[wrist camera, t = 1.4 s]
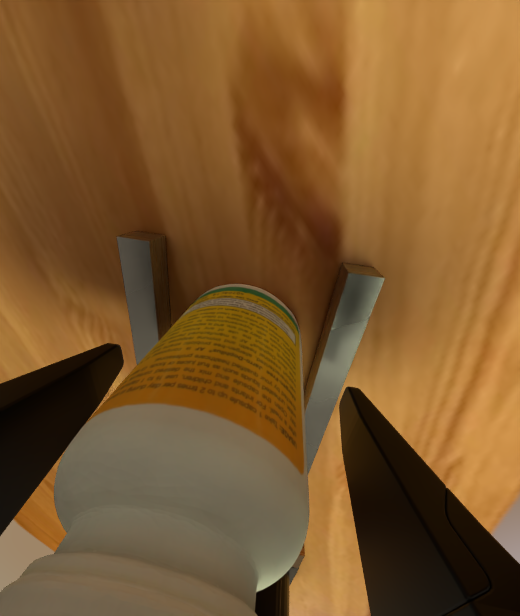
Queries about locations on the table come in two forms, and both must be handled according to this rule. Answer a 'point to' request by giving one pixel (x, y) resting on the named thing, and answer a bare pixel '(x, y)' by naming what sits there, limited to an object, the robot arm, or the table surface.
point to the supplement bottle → (184, 474)
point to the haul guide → (332, 345)
